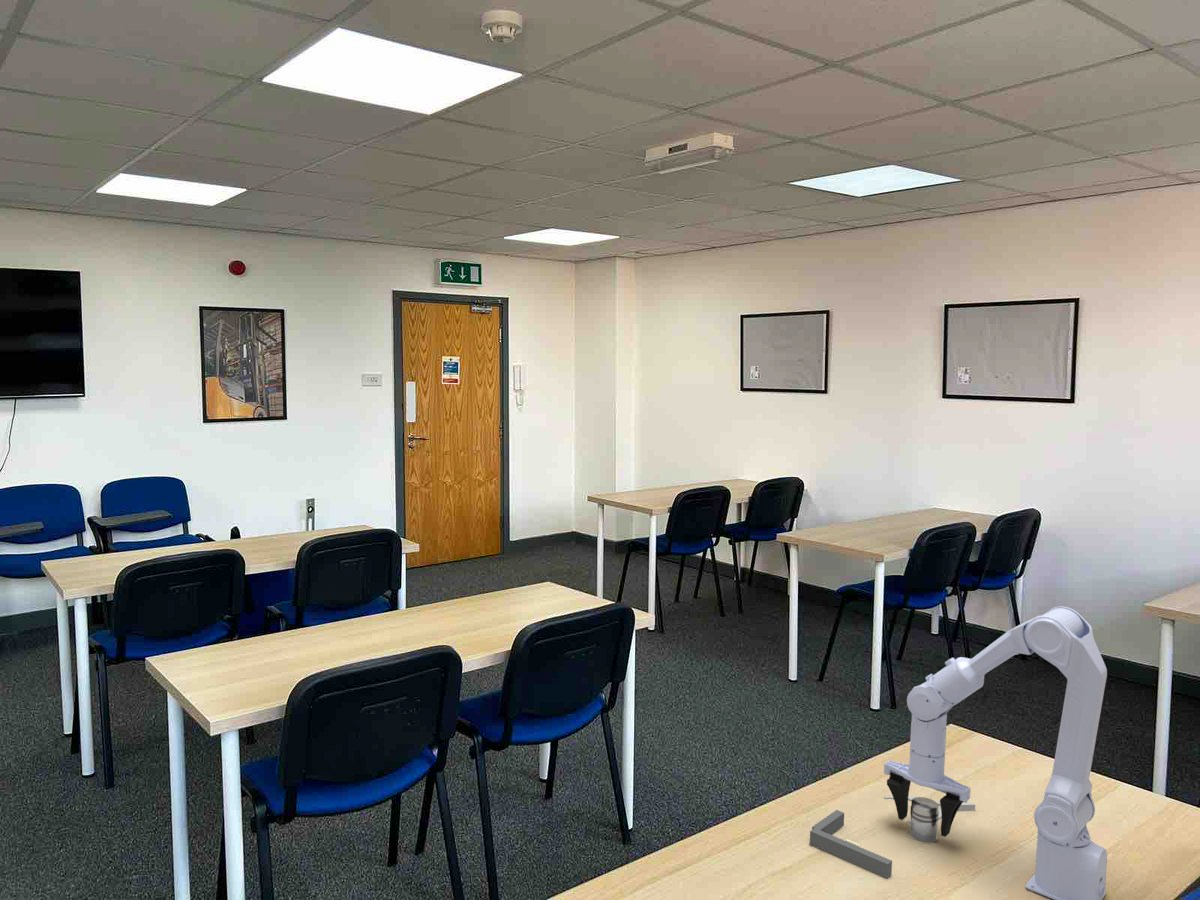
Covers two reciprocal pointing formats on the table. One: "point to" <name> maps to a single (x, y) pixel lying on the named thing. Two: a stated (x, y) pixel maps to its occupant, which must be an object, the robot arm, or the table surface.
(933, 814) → the piston
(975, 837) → the table surface
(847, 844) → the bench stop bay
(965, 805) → the pliers
